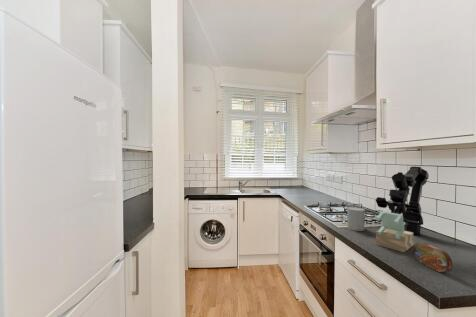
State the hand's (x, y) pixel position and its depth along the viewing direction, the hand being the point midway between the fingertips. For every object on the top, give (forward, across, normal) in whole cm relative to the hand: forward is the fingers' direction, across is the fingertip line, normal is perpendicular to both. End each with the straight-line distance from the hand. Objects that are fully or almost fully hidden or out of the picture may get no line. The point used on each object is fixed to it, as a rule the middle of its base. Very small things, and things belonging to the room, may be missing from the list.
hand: (392, 217), depth 113 cm
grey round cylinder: (-1, -24, +20) cm, 32 cm away
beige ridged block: (+8, 0, +12) cm, 15 cm away
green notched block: (+6, 0, +4) cm, 7 cm away
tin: (+18, +18, +3) cm, 25 cm away
